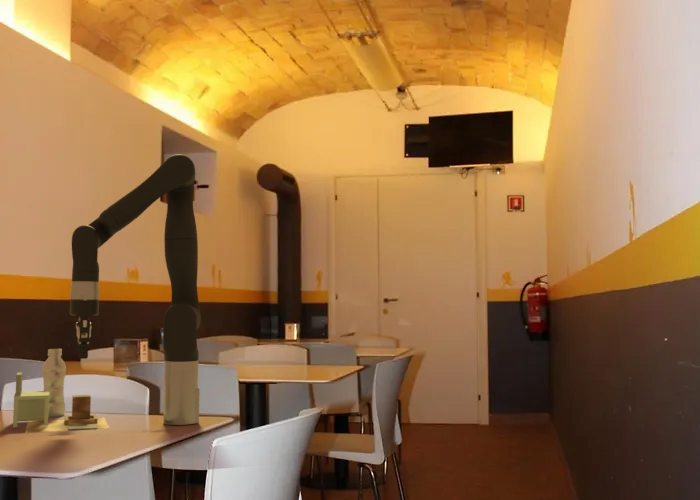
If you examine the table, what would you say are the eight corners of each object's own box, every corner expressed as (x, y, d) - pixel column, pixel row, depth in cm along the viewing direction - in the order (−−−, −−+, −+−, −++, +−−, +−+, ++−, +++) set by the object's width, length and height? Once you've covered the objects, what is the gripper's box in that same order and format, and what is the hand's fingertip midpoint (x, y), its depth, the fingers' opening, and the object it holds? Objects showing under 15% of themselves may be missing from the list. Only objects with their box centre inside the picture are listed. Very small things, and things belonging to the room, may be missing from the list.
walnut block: (89, 420, 207) (89, 394, 208) (89, 422, 203) (90, 396, 203) (71, 421, 205) (72, 395, 206) (72, 423, 201) (73, 397, 202)
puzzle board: (104, 421, 212) (104, 413, 212) (109, 432, 193) (109, 423, 194) (27, 425, 205) (27, 417, 205) (25, 436, 186) (25, 427, 186)
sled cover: (48, 419, 206) (49, 371, 207) (48, 425, 196) (49, 374, 197) (14, 421, 203) (16, 372, 204) (12, 427, 193) (14, 375, 194)
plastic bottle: (70, 418, 217) (72, 348, 219) (49, 421, 212) (51, 350, 213) (55, 416, 221) (58, 348, 222) (35, 419, 215) (37, 349, 217)
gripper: (69, 298, 212) (67, 356, 211) (70, 297, 199) (68, 359, 197) (97, 298, 215) (95, 355, 213) (100, 298, 201) (98, 359, 200)
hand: (82, 357), depth 205 cm, fingers open, 8 cm apart
